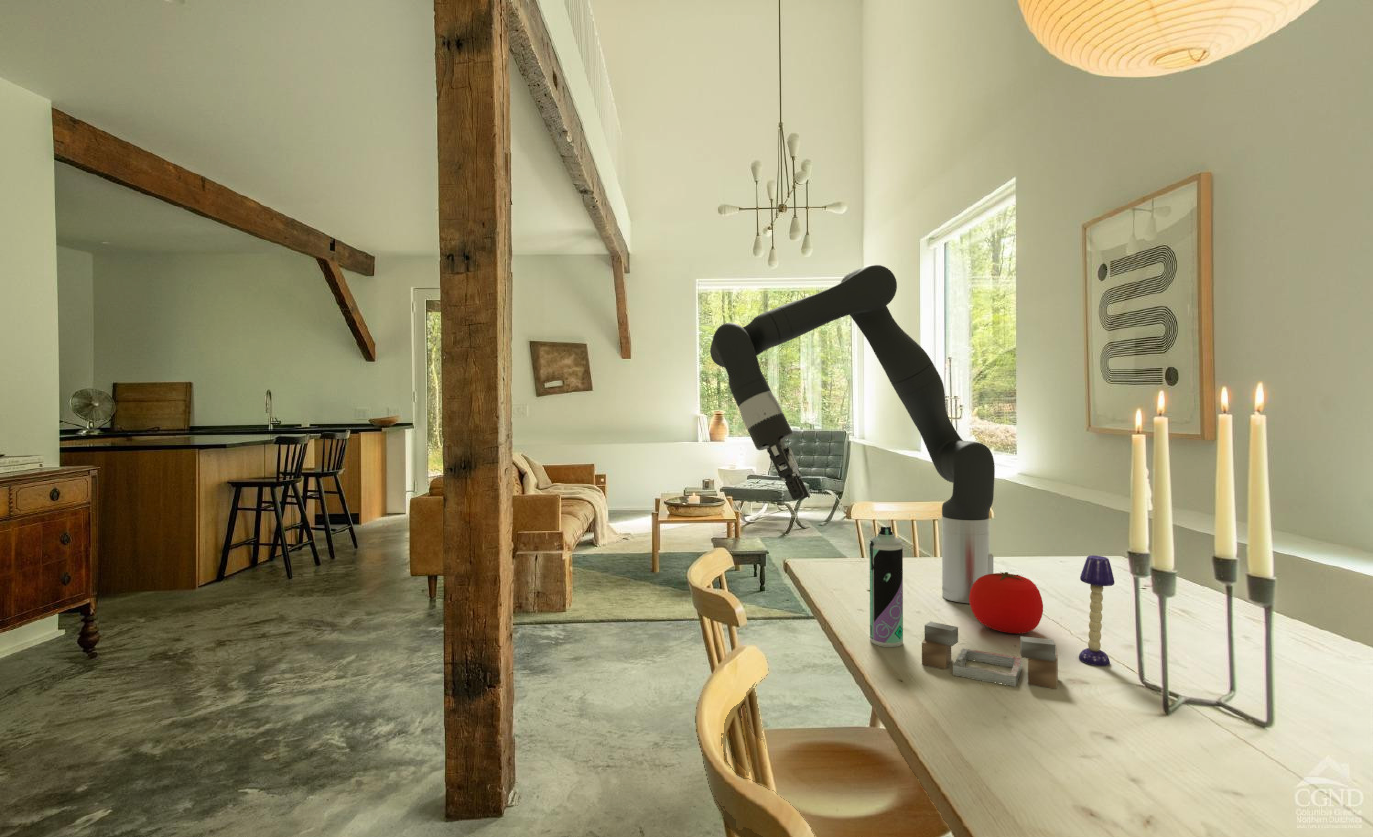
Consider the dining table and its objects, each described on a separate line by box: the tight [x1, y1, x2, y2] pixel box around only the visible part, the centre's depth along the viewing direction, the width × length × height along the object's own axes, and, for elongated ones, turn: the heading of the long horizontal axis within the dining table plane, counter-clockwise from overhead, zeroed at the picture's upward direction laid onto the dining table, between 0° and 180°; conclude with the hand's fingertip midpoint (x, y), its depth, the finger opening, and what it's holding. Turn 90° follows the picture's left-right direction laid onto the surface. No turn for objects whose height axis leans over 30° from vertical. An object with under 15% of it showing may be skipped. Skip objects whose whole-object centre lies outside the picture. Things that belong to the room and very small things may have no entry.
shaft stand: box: [921, 620, 1059, 690], centre depth 105 cm, size 19×4×6 cm, turn 59°
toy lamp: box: [1078, 554, 1115, 667], centre depth 108 cm, size 5×5×17 cm
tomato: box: [969, 571, 1044, 634], centre depth 124 cm, size 12×12×10 cm
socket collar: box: [952, 647, 1023, 688], centre depth 105 cm, size 9×9×2 cm
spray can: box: [869, 526, 904, 648], centre depth 118 cm, size 6×6×20 cm
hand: (801, 498), depth 128 cm, fingers open, 8 cm apart
